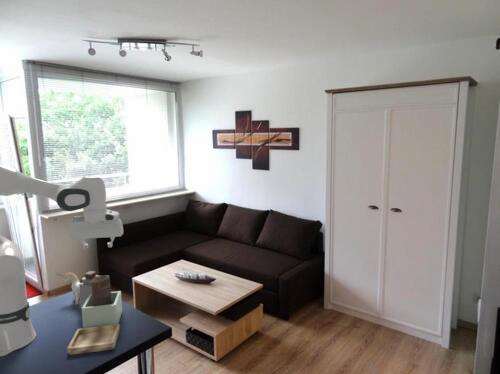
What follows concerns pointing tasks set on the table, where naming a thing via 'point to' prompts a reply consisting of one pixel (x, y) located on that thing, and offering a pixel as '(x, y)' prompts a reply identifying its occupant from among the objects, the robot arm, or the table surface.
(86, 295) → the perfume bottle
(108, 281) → the wooden log
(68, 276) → the unicorn figurine
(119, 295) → the mint green open box
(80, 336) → the tray
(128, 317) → the table surface
